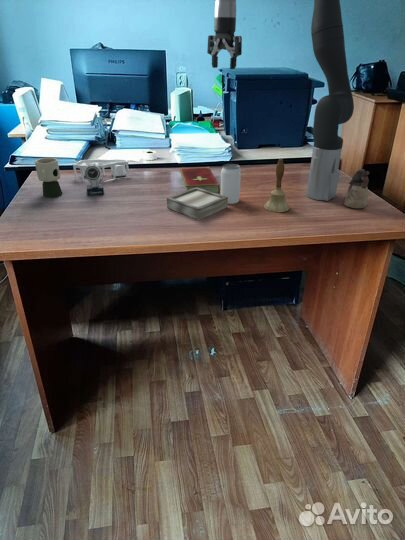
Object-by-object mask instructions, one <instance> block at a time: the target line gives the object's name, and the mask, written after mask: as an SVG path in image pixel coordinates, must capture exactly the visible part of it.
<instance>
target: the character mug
mask: <svg viewBox="0 0 405 540" xmlns="http://www.w3.org/2000/svg"><path fill="white" fill-rule="evenodd" d="M34 164H35V170H36V173H37V179H38V181H39V182H42V195H43V197H44V198H46V199H56V198H59V197H61V196H62V194H63V191H62V187H61V185H60V183H59V181H58V180H60V179H61V173H60V167H59V161H58V159H57V158H56V157H42V158H38V159H35V160H34Z"/></svg>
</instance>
